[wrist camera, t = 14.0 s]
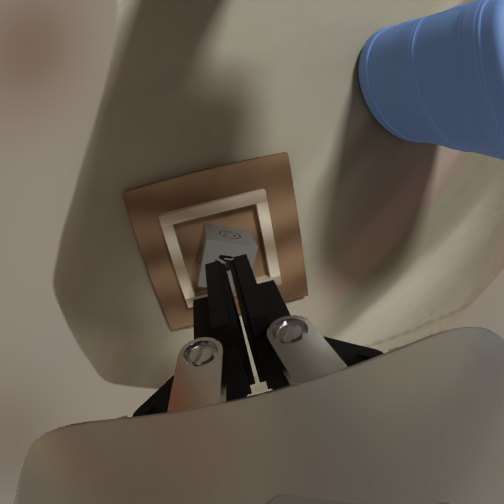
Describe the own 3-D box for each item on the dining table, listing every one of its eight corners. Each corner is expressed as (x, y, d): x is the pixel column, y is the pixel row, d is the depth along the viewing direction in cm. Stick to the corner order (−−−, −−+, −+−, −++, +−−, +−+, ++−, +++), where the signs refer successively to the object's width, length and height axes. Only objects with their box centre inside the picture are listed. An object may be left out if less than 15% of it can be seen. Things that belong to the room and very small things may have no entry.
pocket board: (124, 191, 31) (120, 195, 29) (285, 152, 32) (290, 153, 30) (171, 325, 38) (171, 334, 36) (305, 291, 40) (310, 299, 38)
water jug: (421, 163, 36) (606, 235, 10) (334, 94, 30) (578, 88, 5) (457, 79, 31) (623, 97, 6) (381, 7, 26) (563, -46, 1)
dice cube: (249, 230, 34) (258, 247, 29) (239, 270, 36) (246, 292, 31) (204, 223, 33) (206, 239, 28) (197, 265, 34) (197, 286, 30)
